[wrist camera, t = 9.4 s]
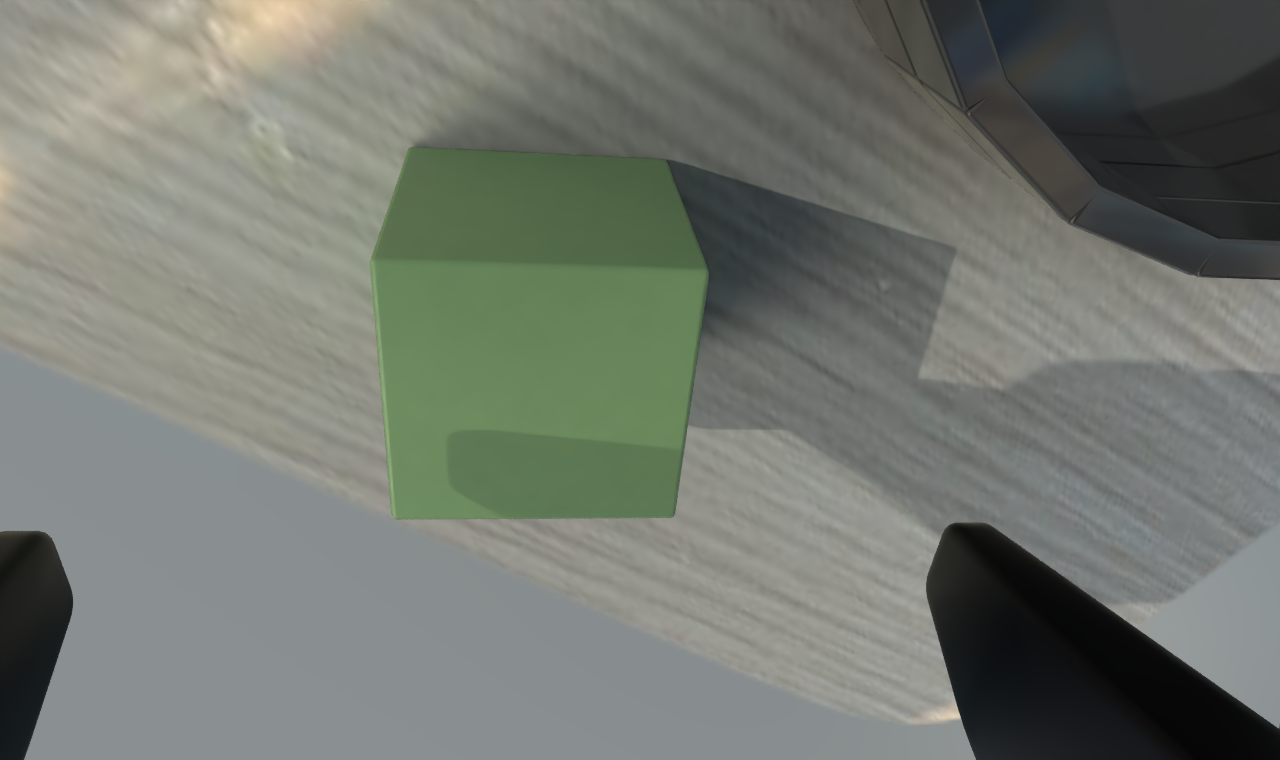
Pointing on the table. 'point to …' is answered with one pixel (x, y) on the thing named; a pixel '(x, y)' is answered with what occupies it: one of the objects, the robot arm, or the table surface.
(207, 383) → the table surface
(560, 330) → the block
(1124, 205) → the pan
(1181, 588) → the table surface
